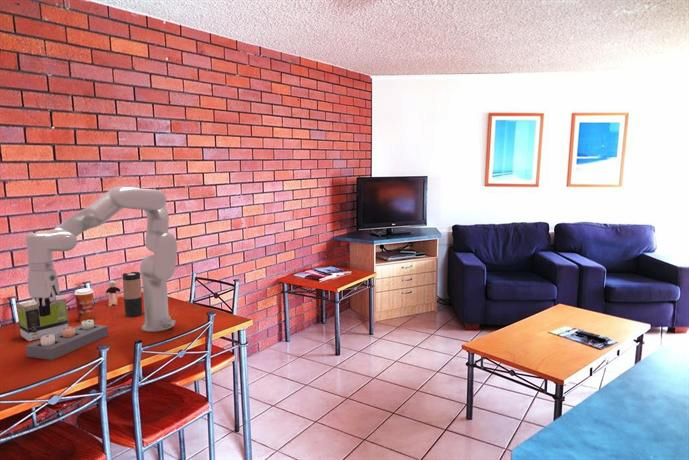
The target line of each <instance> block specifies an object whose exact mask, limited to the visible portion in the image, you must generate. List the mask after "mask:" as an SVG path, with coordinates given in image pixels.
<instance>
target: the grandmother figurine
mask: <svg viewBox="0 0 689 460" xmlns="http://www.w3.org/2000/svg"><path fill="white" fill-rule="evenodd" d="M108 285H109V287H108V288H107V289H106V291H105V294H104V296H105V297H106V296H107V295H108V304H107V306H108V307H112V306H117V305H119V304H118V293H119V295H120V294H122V291H121V289H120V288H119V287H117V286H116V285H117V282H116V281H115V280H110V281H109V282H108ZM117 292H118V293H117Z"/></svg>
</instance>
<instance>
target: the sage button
mask: <svg viewBox="0 0 689 460" xmlns="http://www.w3.org/2000/svg"><path fill="white" fill-rule="evenodd" d="M94 321H95V320H94V319H92V320H84V321H82V322H81V321H80V322H81V324H80V325H82V330H86V331H89V330H91V329H94V325H95V322H94Z"/></svg>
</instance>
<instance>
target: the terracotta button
mask: <svg viewBox="0 0 689 460" xmlns="http://www.w3.org/2000/svg"><path fill="white" fill-rule="evenodd" d="M75 327H76V326H69V327H66V328H63V329H62V337H63V338H68V339H69V338H71V337H74V336H76V333H75Z"/></svg>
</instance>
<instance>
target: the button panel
mask: <svg viewBox="0 0 689 460" xmlns="http://www.w3.org/2000/svg"><path fill="white" fill-rule="evenodd" d="M74 327H75V333H76V336H74V337H71V338H69V339H68V338H63V337H62V332H61V333H58V334H55V344H54V345H51V346H49V347H43V346H41V339H40V340H38V341H35V342H33V343H29V344H27V345H25V351H26V354H25V355H26V357H29V358H36V359H41V360H49V361H53V360H55V359H57V358H61V357H62V356H65V355H66V354H69V353H72V352H74V351H76V350H78V349H81V348H83V347H85V346H87V344H88V345H90V344H92V343H94V342H96V341H99V340H102V339H103V338H106V337H107V336H109V327H108V325H99V324H94V329H91V330H89V331H86V330H82V324H80V325H76V326H74Z"/></svg>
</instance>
